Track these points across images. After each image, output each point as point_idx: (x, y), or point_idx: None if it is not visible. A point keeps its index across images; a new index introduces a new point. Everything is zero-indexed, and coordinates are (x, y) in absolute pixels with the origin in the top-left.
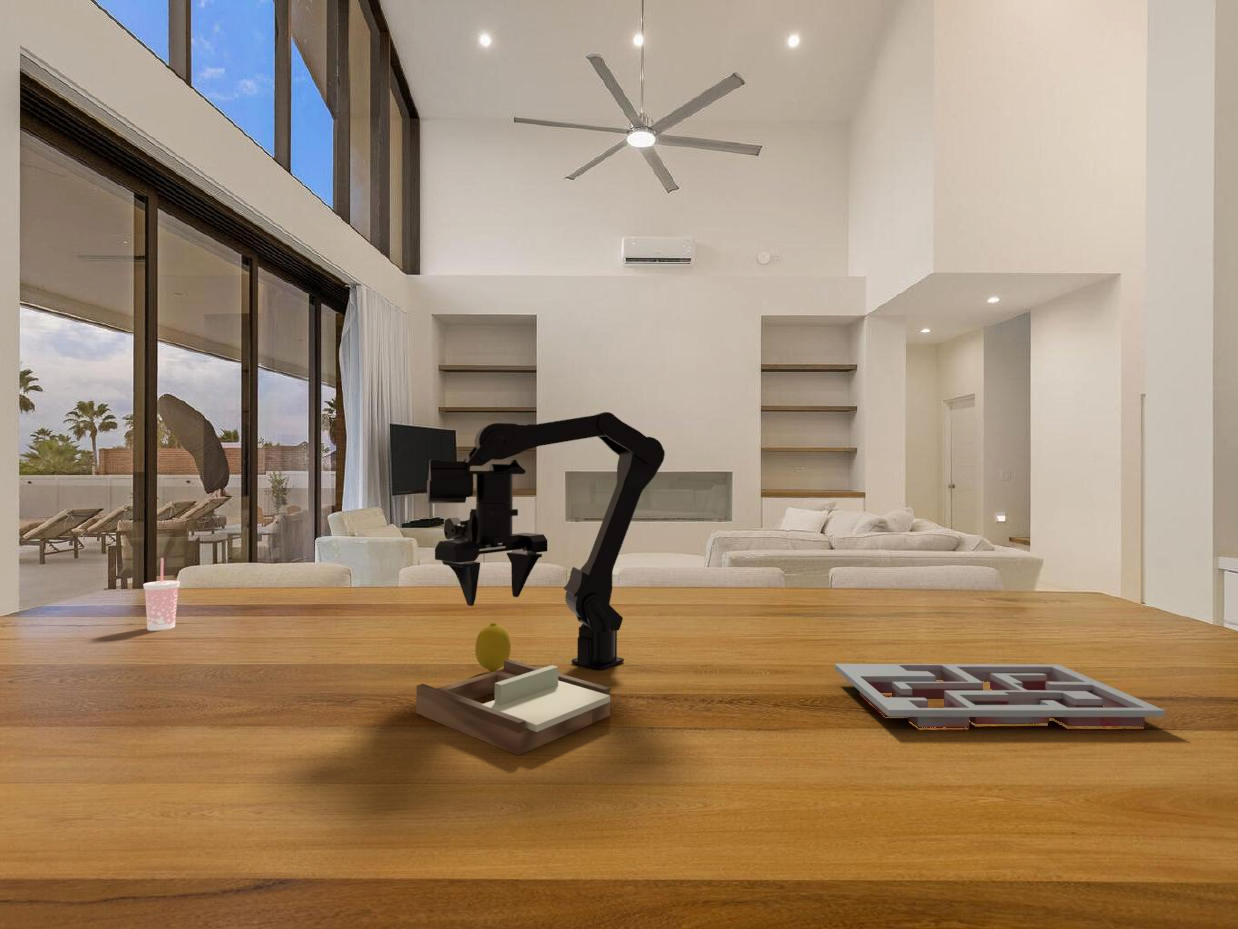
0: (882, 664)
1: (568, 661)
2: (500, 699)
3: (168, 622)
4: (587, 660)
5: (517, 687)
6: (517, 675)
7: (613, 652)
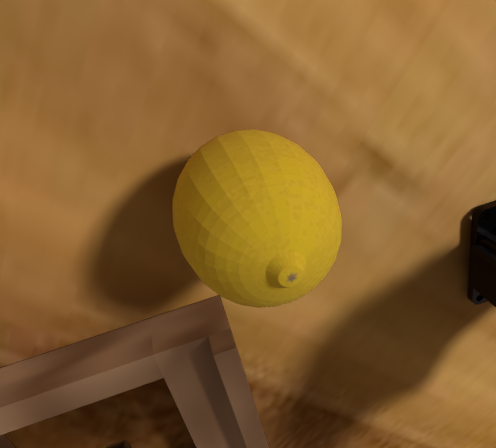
0: None
1: (483, 183)
2: None
3: None
4: (476, 288)
5: None
6: (213, 399)
7: None
